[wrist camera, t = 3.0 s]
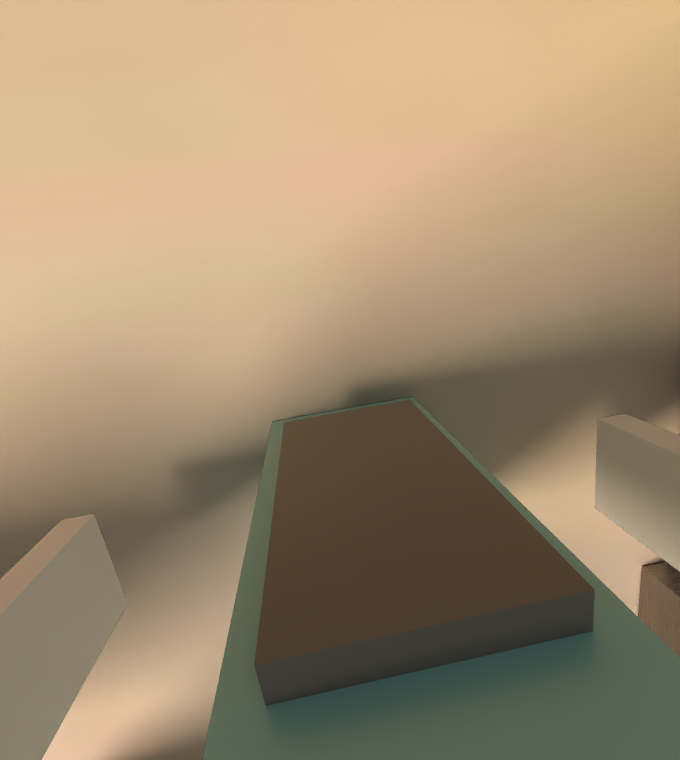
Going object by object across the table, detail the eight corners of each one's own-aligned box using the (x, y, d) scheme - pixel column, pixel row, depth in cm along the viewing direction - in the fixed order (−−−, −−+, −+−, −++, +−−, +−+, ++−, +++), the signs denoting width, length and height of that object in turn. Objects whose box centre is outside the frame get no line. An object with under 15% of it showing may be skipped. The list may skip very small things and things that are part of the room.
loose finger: (269, 405, 11) (121, 962, 2) (410, 380, 11) (866, 765, 2) (298, 542, 12) (292, 1265, 3) (424, 517, 12) (749, 1117, 3)
